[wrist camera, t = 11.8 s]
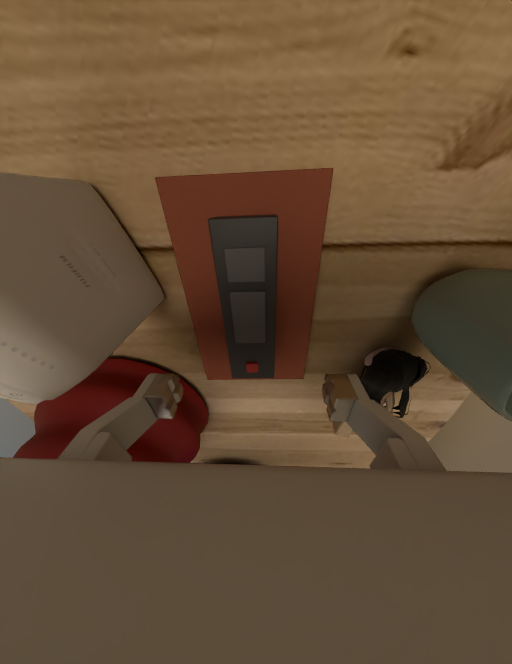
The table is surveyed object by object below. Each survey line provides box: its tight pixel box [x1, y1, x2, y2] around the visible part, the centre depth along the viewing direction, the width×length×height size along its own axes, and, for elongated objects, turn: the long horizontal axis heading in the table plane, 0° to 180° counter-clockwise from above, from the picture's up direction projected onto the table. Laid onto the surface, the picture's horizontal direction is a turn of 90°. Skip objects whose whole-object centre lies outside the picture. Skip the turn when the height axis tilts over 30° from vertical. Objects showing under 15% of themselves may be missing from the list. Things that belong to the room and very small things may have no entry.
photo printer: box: [0, 172, 164, 404], centre depth 11 cm, size 10×4×12 cm, turn 19°
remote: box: [208, 214, 278, 379], centre depth 17 cm, size 15×5×2 cm, turn 2°
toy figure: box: [332, 347, 431, 437], centre depth 23 cm, size 7×6×15 cm
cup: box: [411, 268, 512, 421], centre depth 14 cm, size 8×8×10 cm
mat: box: [155, 168, 333, 380], centre depth 19 cm, size 12×20×1 cm, turn 2°
